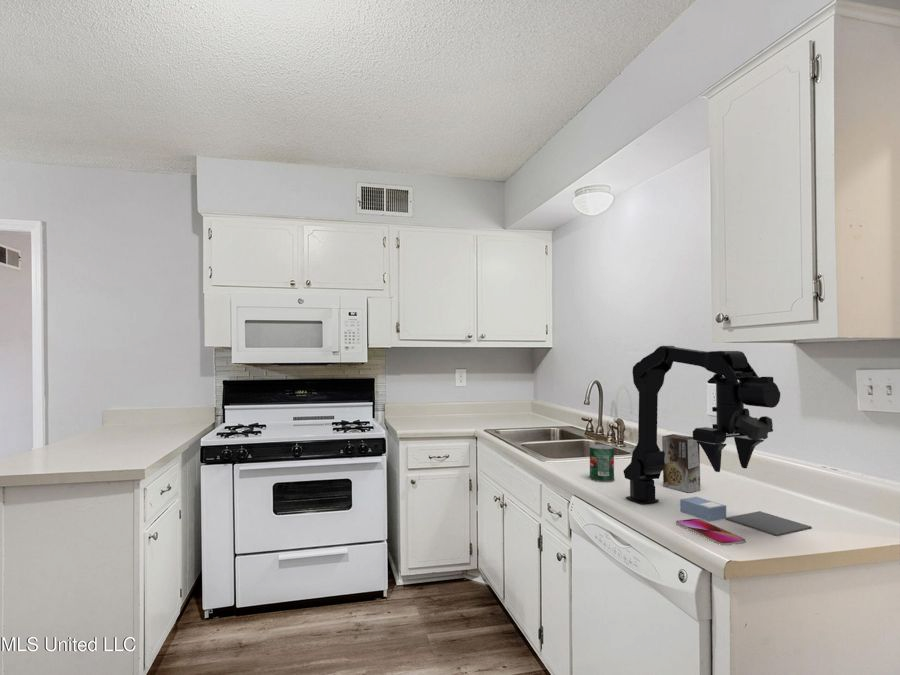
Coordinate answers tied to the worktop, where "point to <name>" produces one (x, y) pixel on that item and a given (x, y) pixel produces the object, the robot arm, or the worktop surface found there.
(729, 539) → the smartphone
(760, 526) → the mat
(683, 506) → the card box
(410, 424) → the worktop surface
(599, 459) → the canned tomato
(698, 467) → the coffee box
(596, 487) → the worktop surface
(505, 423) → the worktop surface
